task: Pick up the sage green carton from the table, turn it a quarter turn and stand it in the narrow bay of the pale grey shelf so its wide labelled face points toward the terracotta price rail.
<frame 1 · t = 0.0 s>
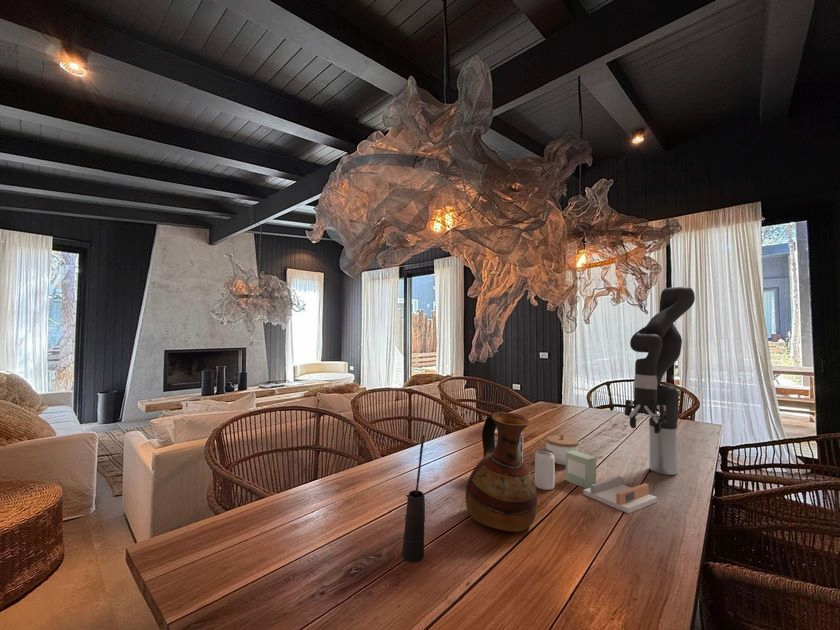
hand: (644, 430, 142), 17 cm above the table, tool pointing down, fingers open, 8 cm apart
butter churn: (409, 559, 88), on the table
can: (544, 487, 130), on the table
carton: (580, 483, 134), on the table
lidded bowl: (561, 462, 156), on the table
shelf: (619, 498, 123), on the table
ceramic pitcher: (500, 521, 106), on the table
candy bar box: (506, 478, 138), on the table
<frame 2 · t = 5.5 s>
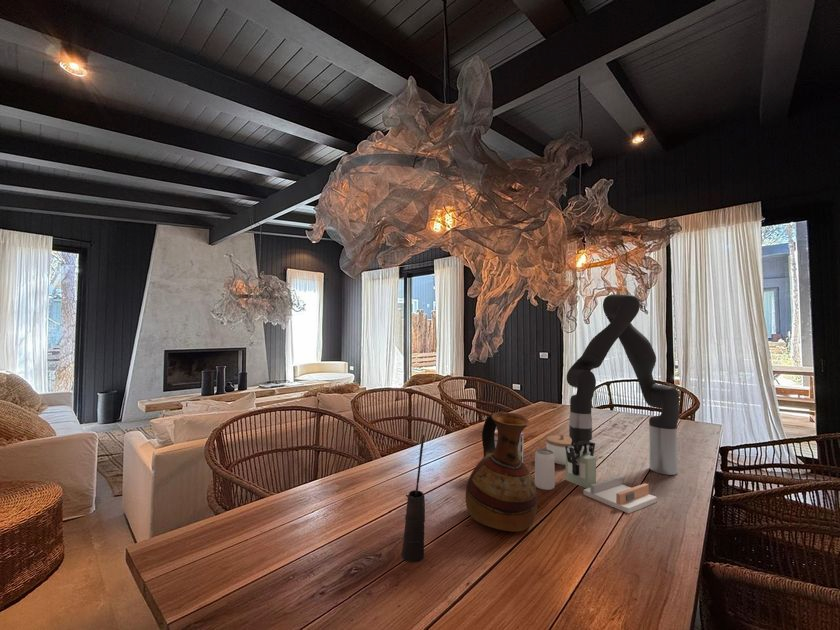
hand: (580, 473, 134), 3 cm above the table, tool pointing down, fingers closed on carton, 4 cm apart
carton: (580, 483, 134), on the table, touching gripper
everything else where it was.
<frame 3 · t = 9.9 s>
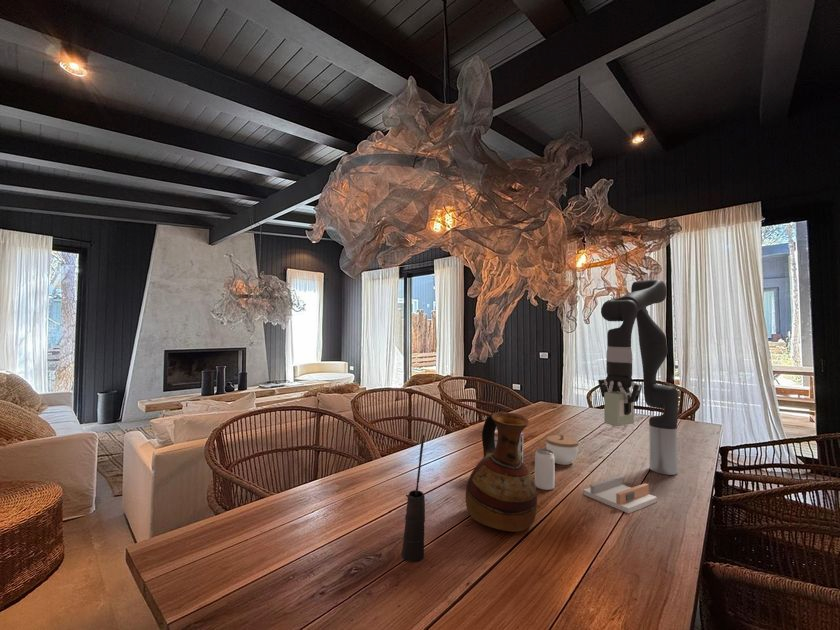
hand: (619, 412, 124), 27 cm above the table, tool pointing down, fingers closed on carton, 4 cm apart
carton: (619, 423, 124), point 24 cm above the table, touching gripper
everything else where it was.
when the fingers open (6 cm above the table, at t = 14.2 s): carton drops 1 cm, resting on shelf.
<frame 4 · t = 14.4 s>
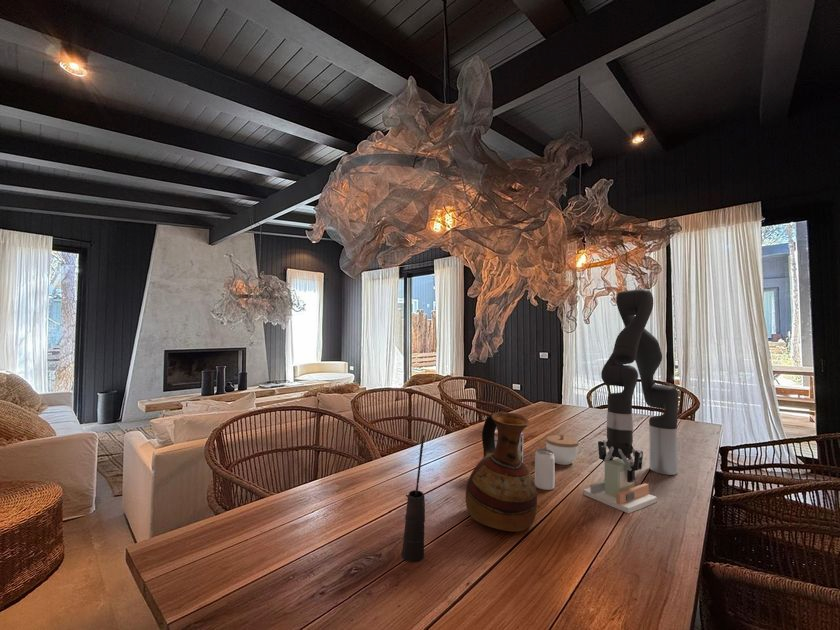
hand: (619, 478, 123), 6 cm above the table, tool pointing down, fingers open, 6 cm apart
carton: (619, 493, 123), point 1 cm above the table, touching shelf
everything else where it was.
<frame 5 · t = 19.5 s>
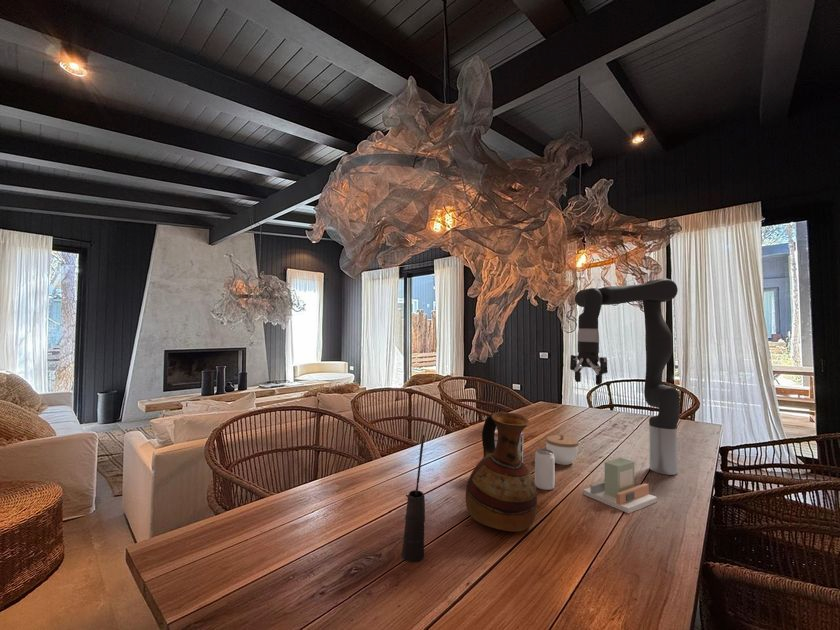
hand: (588, 383, 144), 34 cm above the table, tool pointing down, fingers open, 8 cm apart
nothing on the table moved.
at the end: carton 0.0 cm off-centre on the shelf, point 1.5 cm above the shelf's base; carton tilted 0°; the gripper is holding nothing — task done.
